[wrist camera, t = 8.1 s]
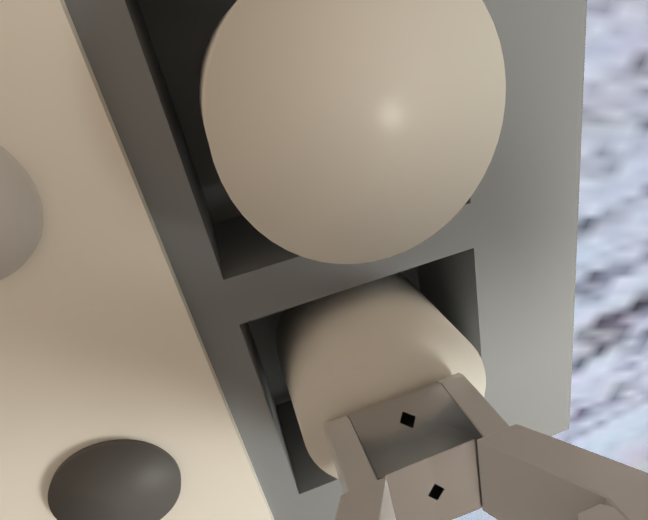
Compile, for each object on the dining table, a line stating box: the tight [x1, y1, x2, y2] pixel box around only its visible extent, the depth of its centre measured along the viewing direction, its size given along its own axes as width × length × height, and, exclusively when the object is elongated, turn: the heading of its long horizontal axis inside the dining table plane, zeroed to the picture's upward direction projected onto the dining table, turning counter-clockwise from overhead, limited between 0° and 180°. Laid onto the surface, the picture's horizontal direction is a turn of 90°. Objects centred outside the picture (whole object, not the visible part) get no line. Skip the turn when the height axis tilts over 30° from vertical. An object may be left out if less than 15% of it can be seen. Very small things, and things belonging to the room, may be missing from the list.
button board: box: [0, 0, 587, 520], centre depth 9 cm, size 14×20×4 cm
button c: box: [276, 272, 486, 479], centre depth 11 cm, size 4×4×3 cm
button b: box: [199, 0, 506, 264], centre depth 7 cm, size 4×4×3 cm
